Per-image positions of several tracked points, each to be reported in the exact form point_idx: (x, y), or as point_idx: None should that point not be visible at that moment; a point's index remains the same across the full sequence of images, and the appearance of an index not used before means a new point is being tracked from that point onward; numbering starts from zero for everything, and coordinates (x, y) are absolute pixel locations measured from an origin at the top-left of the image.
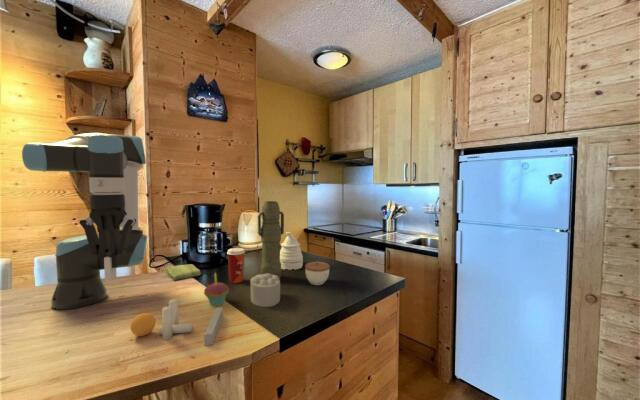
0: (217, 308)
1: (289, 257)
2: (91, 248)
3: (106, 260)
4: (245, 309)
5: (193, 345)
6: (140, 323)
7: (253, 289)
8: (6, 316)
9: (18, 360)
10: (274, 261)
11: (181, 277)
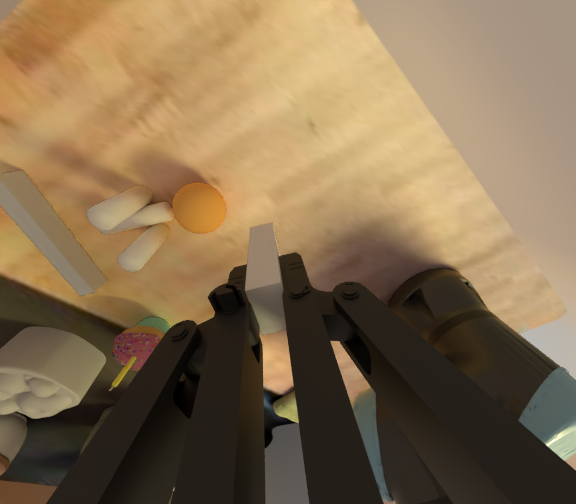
0: (88, 290)
1: None
2: (383, 313)
3: (265, 273)
4: (69, 312)
5: (51, 168)
6: (184, 191)
7: (46, 361)
8: (516, 238)
9: (386, 87)
10: None
11: None
